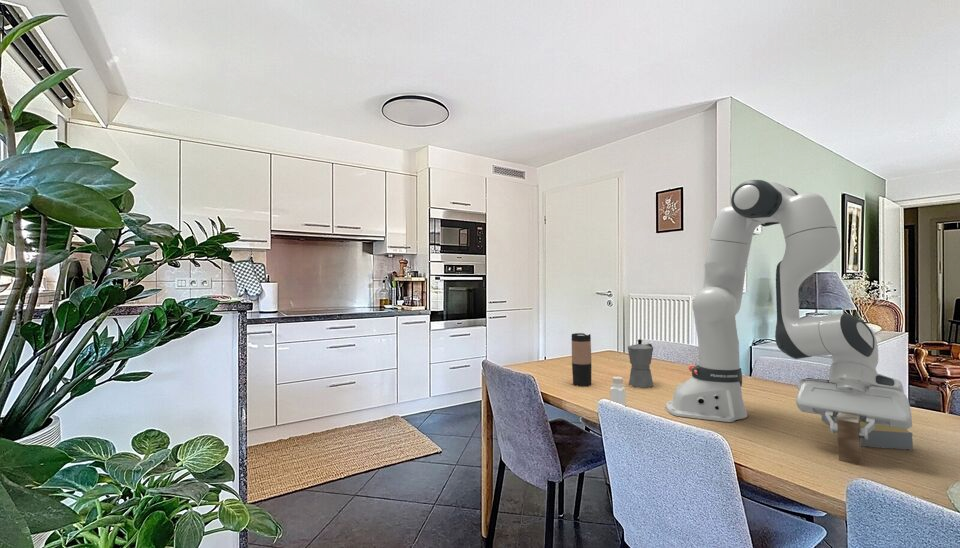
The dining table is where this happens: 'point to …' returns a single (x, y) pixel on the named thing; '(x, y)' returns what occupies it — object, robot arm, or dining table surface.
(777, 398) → the dining table surface
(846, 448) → the brown rectangular block
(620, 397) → the salt shaker
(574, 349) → the travel mug
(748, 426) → the dining table surface
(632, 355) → the coffeepot
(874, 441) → the grey and tan block
